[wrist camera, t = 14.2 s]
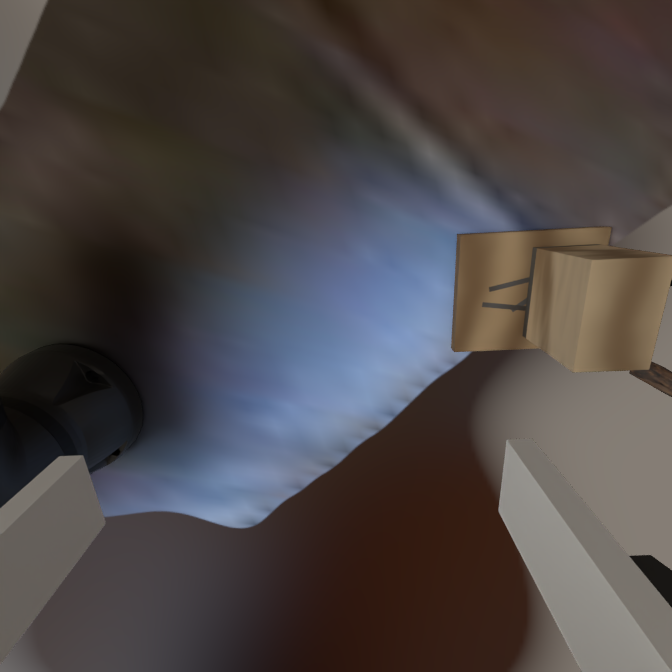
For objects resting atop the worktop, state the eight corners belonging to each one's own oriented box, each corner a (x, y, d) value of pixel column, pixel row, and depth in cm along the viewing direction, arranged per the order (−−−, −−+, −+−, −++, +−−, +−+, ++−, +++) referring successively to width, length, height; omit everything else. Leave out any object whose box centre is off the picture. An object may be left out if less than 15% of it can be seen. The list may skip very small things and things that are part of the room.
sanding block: (522, 335, 38) (572, 372, 30) (532, 247, 35) (592, 260, 27) (581, 333, 38) (649, 369, 30) (597, 244, 35) (677, 255, 27)
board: (451, 347, 40) (454, 351, 39) (457, 234, 36) (460, 235, 35) (582, 342, 40) (589, 346, 39) (603, 226, 36) (611, 227, 35)
